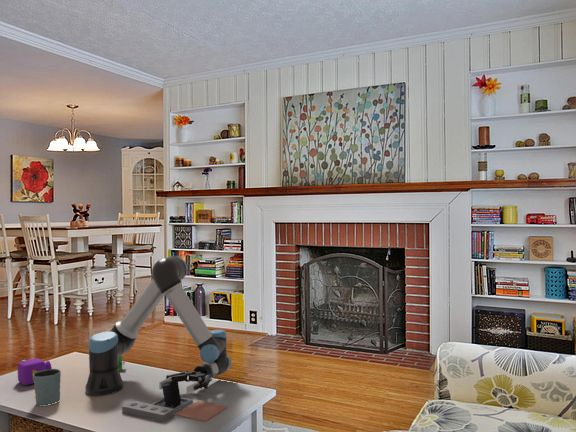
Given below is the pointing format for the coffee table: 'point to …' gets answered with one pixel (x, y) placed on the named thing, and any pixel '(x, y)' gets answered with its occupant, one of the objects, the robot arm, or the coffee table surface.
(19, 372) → the toy camera
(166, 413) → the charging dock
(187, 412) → the mat
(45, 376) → the grey-green cup
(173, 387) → the speaker
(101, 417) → the coffee table surface
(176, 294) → the robot arm
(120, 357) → the geometric puzzle
